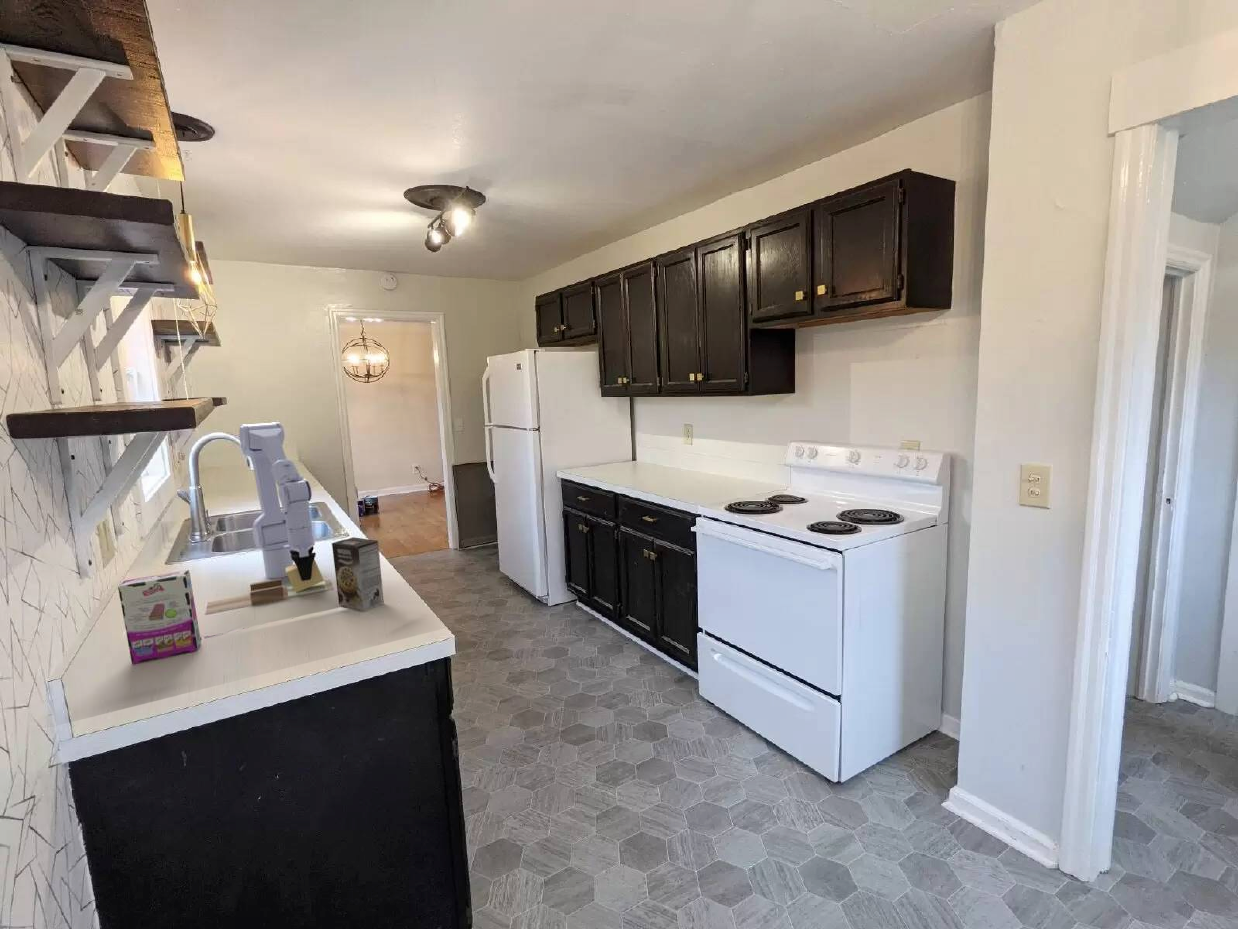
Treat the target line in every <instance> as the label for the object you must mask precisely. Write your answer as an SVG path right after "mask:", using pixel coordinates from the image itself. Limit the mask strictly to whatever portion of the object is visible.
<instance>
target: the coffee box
mask: <svg viewBox="0 0 1238 929" xmlns="http://www.w3.org/2000/svg"><path fill="white" fill-rule="evenodd" d="M331 547H332V555H333V556H332V557H333V565H334V573H335V574H334V575H335V582H336V588H337V589H336V591H337V599H338V604H339V605H341V608H343V609H348V610H353V611H356V612H357V611H358V612H362V613H365V612H367V611H370V610H372V609H374V608H376V607H375V606H377V607H378V605H379V606H381V605H383V604H382V603H384V604H385V602H384V591H383V580H382V569H381V559H380V558H381V556H380V547H379V540H376V539H367V538H362V537H354V536H353V537H350V538H347V539H346V538H345V539H341V540H337V541H334V542H332V543H331ZM380 604H381V605H380ZM373 607H374V608H373ZM371 608H372V609H371ZM369 609H370V610H369Z"/></svg>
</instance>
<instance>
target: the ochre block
mask: <svg viewBox="0 0 1238 929" xmlns="http://www.w3.org/2000/svg"><path fill="white" fill-rule="evenodd" d="M285 569H286V573H287V575H288V576H287V578H288V580H289V581H290V583H291V586H293V588H294V590H295V592H296V593H297V592H299V591H301V590H304V589H306V588H308V587H311V586H313V585H315V584H318V583H320V582H322V581H324V577H323V575H322V573H321V570H320V568H319V566H318V564H317V562H316V559H315V558H314V561H313V565H312V576H311V579H310V580H305V581H302V580H301V578H300V575H299V571H298V568H297V566H296V564H295V563H293V565H292V566H289V567H287V568H285Z"/></svg>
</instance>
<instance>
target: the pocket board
mask: <svg viewBox="0 0 1238 929" xmlns="http://www.w3.org/2000/svg"><path fill="white" fill-rule="evenodd" d="M323 580H324V579H323ZM249 586H250V592H249V594H245V595H240V596H235V597H231V598H224V599H220V600H214V601H213V600H212V601H209V602H207V606H206V609H205V614H204V615H205V616H207V615H208V616H209V615H212V614H216V613H222V612H228V611H231V610H237V609H242V608H247V607H248V608H249V607H252V606H257V605H258V606H259V605H262V604H268V603H272V602H277V601H282V600H283V601H284V600H288V599H293V598H297V597H302V596H308V595H312V594H313V595H314V594H318V593H322V592H323V593H324V592H329V591H332V590H334V589H335V588H334V585H333V584H332V580H331V579H325V580H324V581H322V582H320V583H318V584H315V585H313V586H311V587H308V588H306V589H304V590H301V591H299V592H297V593H296V592H295V590H294V588H293V586H292V585H291V586H287V587H283V582H282V577H280V578H274V579H270V580H265V581H260V582H259V581H258V582H253V583H250V585H249Z"/></svg>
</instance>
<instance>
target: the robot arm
mask: <svg viewBox="0 0 1238 929" xmlns="http://www.w3.org/2000/svg"><path fill="white" fill-rule="evenodd" d="M238 432H239V433H238V435H239V436H238V437H239V442H240V448H241V451H242V453H243V456H247V457H249V458H250V461H251V463H252V467H253V468H252V469H253V475H254V479H255V485H256V490H257V494H258V499H259V505H260V511H261V513H260V515H259V516H258V517H257V518H256V519H255V520H254V521H253V523H252V538H253V542H254V545H255V546H256V548H258V549H260V550H261V551H262V558H263V559H262V560H263V566H264V573H263V578H267V579H280V578H285V577H288V575H287V573H286V569H285V568H287V567H289V566H292V565H294V564H296V566H297V568H298V571H299V575H300V578H301V580H302V581H305V580H310V579H311V576H312V565H313V561H314V559H315V558H316V555H317V553H316V552H315V551H314V549H315V548H314V546H315V545H316V542H315V540H314V535H313V526H312V518H311V510H310V501H311V500H312V497H313V496H312V487H311V484H310V482H309V481H308V479H306V478H305V477H304V476H301V475H300V472H299V471H298V469H297V467H296V465H295V463H294V462H293V461H292V460H289V459H288V458H287V456H286V453H285V451H284V448H283V445H284V441H285V430H284V427H283V425H282V424H281V423H280V422H279V421H275V422H270V423H269V422H268V423H267V422H266V423H265V422H264V423H254V424H241V425H240V427H239V430H238ZM277 488H278V489H277ZM280 503H281V505H280ZM281 509H282V510H281ZM275 522H277V523H275ZM271 523H272V524H271ZM266 524H267V525H266ZM313 551H314V552H313Z"/></svg>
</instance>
